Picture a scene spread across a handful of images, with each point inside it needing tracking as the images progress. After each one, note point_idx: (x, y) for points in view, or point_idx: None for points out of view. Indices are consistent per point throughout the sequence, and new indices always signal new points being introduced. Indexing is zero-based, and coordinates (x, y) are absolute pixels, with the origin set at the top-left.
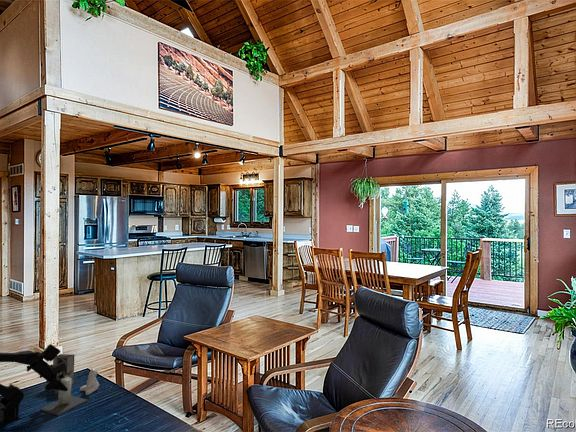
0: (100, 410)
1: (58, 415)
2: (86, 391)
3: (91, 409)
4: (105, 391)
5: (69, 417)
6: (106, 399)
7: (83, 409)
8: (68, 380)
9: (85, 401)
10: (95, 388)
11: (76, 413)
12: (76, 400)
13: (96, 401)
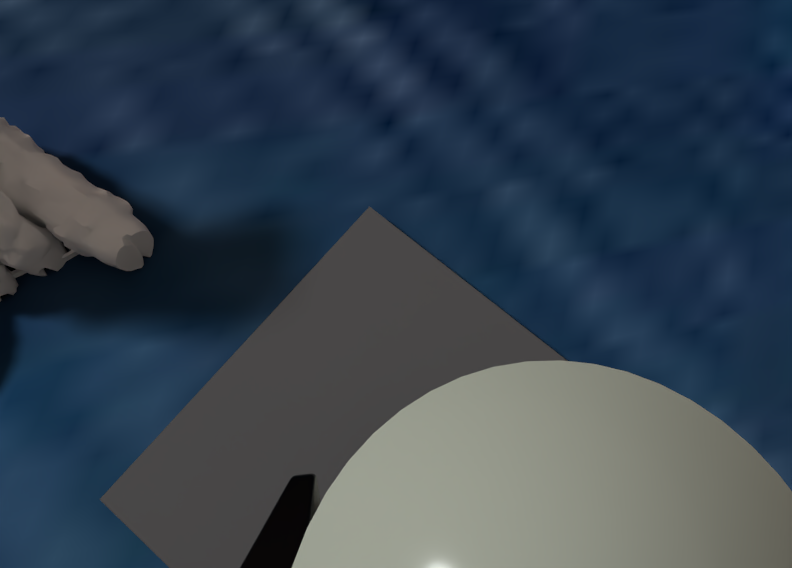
0: (650, 47)
1: None
2: (117, 247)
3: (610, 136)
4: (127, 54)
5: (783, 339)
6: (380, 21)
7: (594, 220)
8: (694, 459)
9: (392, 229)
10: (39, 147)
11: (688, 279)
12: (347, 347)
13: (403, 114)
